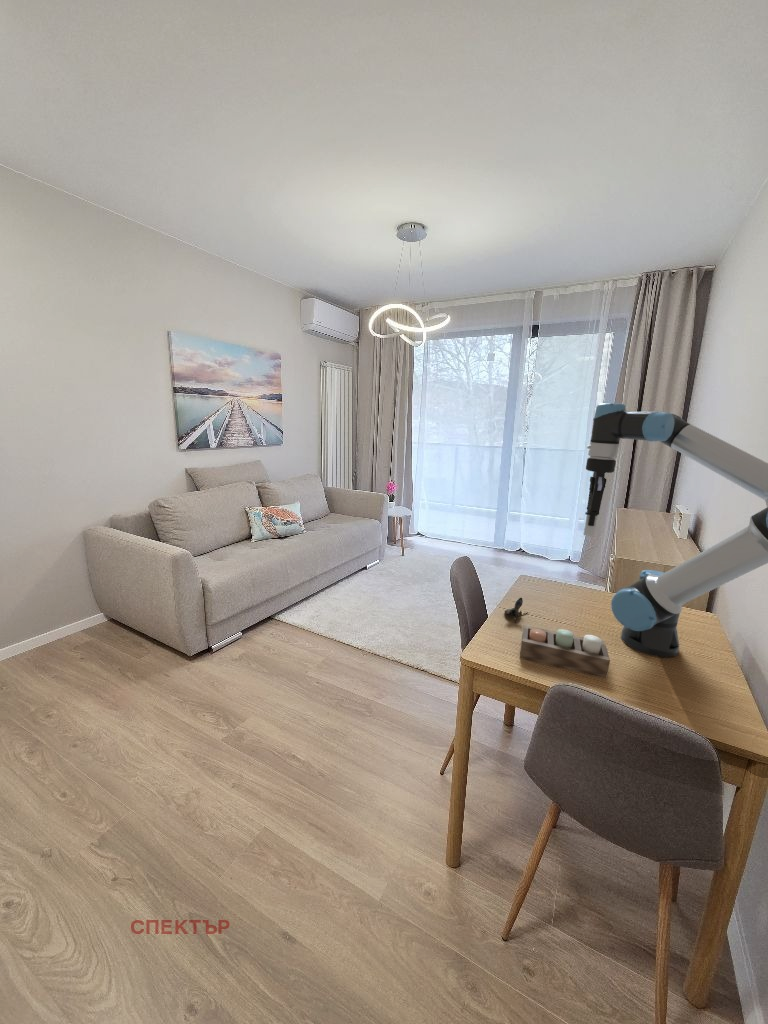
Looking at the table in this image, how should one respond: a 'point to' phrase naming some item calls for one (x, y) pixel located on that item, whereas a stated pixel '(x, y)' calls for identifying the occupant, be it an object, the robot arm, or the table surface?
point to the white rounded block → (591, 644)
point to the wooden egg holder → (564, 654)
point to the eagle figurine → (516, 610)
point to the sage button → (564, 638)
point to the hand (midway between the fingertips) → (588, 535)
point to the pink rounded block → (537, 635)
